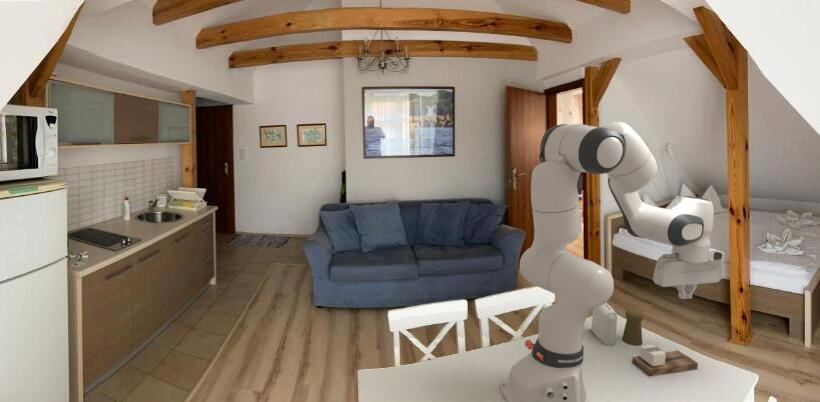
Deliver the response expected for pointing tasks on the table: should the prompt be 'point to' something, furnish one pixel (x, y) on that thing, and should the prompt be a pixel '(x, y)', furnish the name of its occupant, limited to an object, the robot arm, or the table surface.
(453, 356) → the table surface
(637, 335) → the cork
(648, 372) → the slider board
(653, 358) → the fader tab
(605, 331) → the photo printer
